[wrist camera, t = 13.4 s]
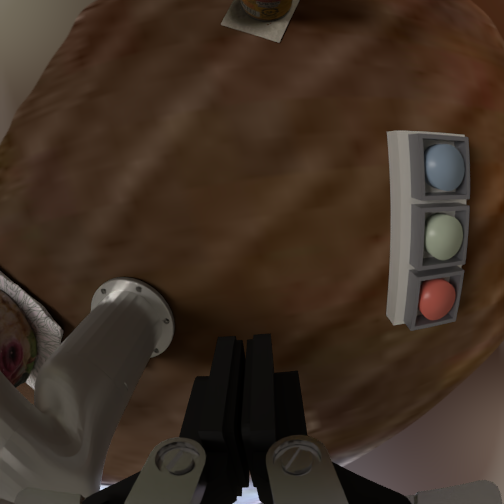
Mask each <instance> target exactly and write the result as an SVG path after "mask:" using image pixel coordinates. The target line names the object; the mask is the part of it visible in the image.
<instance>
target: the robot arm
mask: <svg viewBox="0 0 504 504" xmlns="http://www.w3.org/2000/svg"><path fill="white" fill-rule="evenodd" d="M140 287H141V288H140ZM174 330H175V323H174V317H173V314H172V311H171V309H170V307H169V305H168V303H167V302H166V301H165V299H164V298H163V296H162V295H161V294H160V293H159V292H158V291H157V290H155V289H154V288H153V287H151V286H150V285H148V284H146V283H144V282H142V281H140V280H137V279H134V278H128V277H118V278H114V279H110V280H109V281H107V282H105V283H104V284H103V285H101V286H100V287H99V288H98V290H97V291H96V292H95V294H94V296H93V299H92V303H91V313H90V314H89V315H88V316H87V317H86V318H85V319H84V320H83V321H82V322H81V323H80V324H79V325H78V326H77V327H76V328H75V329H74V330H73V332H72V333H71V334H70V335H69V336H68V337H67V338H66V339H65V340H64V341H63V342H62V343H61V345H60V346H59V347H58V348H57V349H56V350H55V351H54V352H53V353H52V355H51V356H50V357H49V358H48V359H47V360H46V361H45V363H44V364H43V365H42V367H41V368H40V370H39V372H38V375H37V378H36V382H35V390H34V404H35V406H34V405H33V404H31V403H30V402H29V401H28V400H27V399H26V398H25V397H24V396H23V395H22V394H21V393H20V392H19V391H18V390H17V389H16V388H15V387H14V386H13V385H12V383H11V382H10V381H9V380H8V379H7V378H6V377H5V376H4V375H3V373H2V372H1V371H0V504H233V503H234V502H235V501H237V496H242V487H249V471H250V474H251V478H252V482H253V486H254V487H257V492H258V496H259V500H260V501H261V502H262V503H264V504H502V499H501V494H500V491H499V489H498V487H497V486H496V485H495V484H494V483H493V482H490V481H487V480H482V481H475V482H471V483H467V484H462V485H457V486H452V487H447V488H441V489H435V490H430V491H421V492H417V494H416V495H410V496H404V495H402V494H400V493H398V492H395V491H393V490H391V489H388V488H386V487H383V486H381V485H379V484H377V483H375V482H372V481H370V480H368V479H366V478H364V477H361V476H359V475H357V474H355V473H353V472H351V471H349V470H347V469H345V468H343V467H341V466H339V465H337V464H335V463H333V462H332V461H331V459H330V456H329V454H328V451H327V449H326V448H325V446H324V445H323V443H321V442H320V441H319V440H317V439H315V438H313V437H310V436H307V430H306V423H305V416H304V409H303V402H302V395H301V389H300V382H299V375H298V371H291V372H280V373H274V366H273V354H272V343H271V334H258V335H254V336H253V339H250V340H247V349H246V359H245V353H244V346H243V341H242V340H237V339H236V336H228V337H218V340H217V344H216V349H215V353H214V358H213V362H212V367H211V371H210V376H197V377H196V378H195V381H194V384H193V388H192V391H191V395H190V399H189V402H188V406H187V410H186V413H185V417H184V421H183V425H182V428H181V432H180V436H179V437H177V438H171V439H168V440H165V441H163V442H161V443H160V444H158V445H157V446H156V447H155V448H154V449H153V451H152V452H151V453H150V455H149V457H148V459H147V461H146V463H145V465H144V467H143V469H142V470H141V471H140V472H138V473H136V474H134V475H132V476H130V477H128V478H126V479H124V480H122V481H120V482H118V483H116V484H113V485H111V486H109V487H107V488H105V489H103V490H100V485H101V478H102V472H103V467H104V462H105V458H106V454H107V451H108V448H109V445H110V442H111V440H112V437H113V435H114V432H115V430H116V428H117V425H118V423H119V421H120V419H121V417H122V415H123V412H124V410H125V408H126V406H127V404H128V402H129V400H130V398H131V396H132V393H133V391H134V389H135V387H136V385H137V383H138V381H139V379H140V377H141V375H142V373H143V371H144V369H145V367H146V365H147V363H148V361H149V359H150V358H152V357H155V356H157V355H159V354H161V353H162V352H164V351H165V350H166V349H167V348H168V346H169V344H170V343H171V341H172V338H173V335H174Z"/></svg>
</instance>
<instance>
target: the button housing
mask: <svg viewBox="0 0 504 504" xmlns="http://www.w3.org/2000/svg"><path fill="white" fill-rule="evenodd" d="M387 140H388V153H389V169H390V195H391V243H390V269H389V285H388V298H387V310H386V315H387V317H388V318H389V319H390V321H391V322H392V324H393V325H399V324H404V323H405V324H406V325H407V327H408V328H409V329H410V330H411V331H412V330H417V329H422V328H427V327H432V326H436V325H441V324H445V323H449V322H454V321H456V316H457V311H458V306H459V301H460V295H461V289H462V283H463V276H464V270H463V269H462V268H461V267H462V265H464V264H465V261H466V252H467V241H468V228H469V210H470V206H468V205H466V199H470V160H469V142H468V137H465V135H459V134H448V133H435V132H420V131H390V132H387ZM433 144H449V145H452V146H454V147H455V148H456V149H457V150H458V151H459V152H460V154H461V156H462V158H463V161H464V167H465V171H464V177H463V180H462V182H461V184H460V185H459V186H458V187H457V188H456V189H454V190H452V191H444V190H440V189H436V188H433V187H431V186H430V185H428V184H427V183H426V181H425V171H424V151H425V150H426V148H428V147H429V146H431V145H433ZM434 213H444V214H447V215H450V216H452V217H454V218H456V219H457V220H458V221H459V222H460V224H461V226H462V230H463V240H462V244H461V246H460V248H459V250H458V252H457V253H456V254H455V255H454V256H453V257H451V258H450V259H447V260H439V259H437V258H435V257H433V256H432V255H430V254H429V253H428V252H426V251H425V250H424V229H425V221H426V219H427V218H428V217H429V216H431V215H432V214H434ZM437 278H444V279H445V280H446V281H448V282H449V283H450V284H451V285H452V286H453V287H454V289H455V294H456V296H455V302H454V304H453V306H452V308H451V310H450V311H449V312H448V313H447V314H446V315H445V316H444V317H442V318H440V319H438V320H429V319H427V318H426V317H425V316H424V315H423V314H422V313H421V312H420V311H419V310H418V301H419V293H420V285H421V284H422V283H423V282H424V281H425V280H431V279H437Z"/></svg>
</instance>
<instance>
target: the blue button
mask: <svg viewBox="0 0 504 504" xmlns="http://www.w3.org/2000/svg"><path fill="white" fill-rule="evenodd" d="M424 171H425V181H426V183H427V184H428V185H430V186H431V187H433V188H436V189H440V190H444V191H452V190H454V189H456V188H457V187H458V186H459V185H460V184H461V182H462V180H463V177H464V171H465V167H464V161H463V158H462V156H461V154H460V152H459V151H458V150H457V149H456V148H455V147H454V146H452V145H449V144H433V145H431V146H429V147H428V148H426V150H425V151H424Z"/></svg>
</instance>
